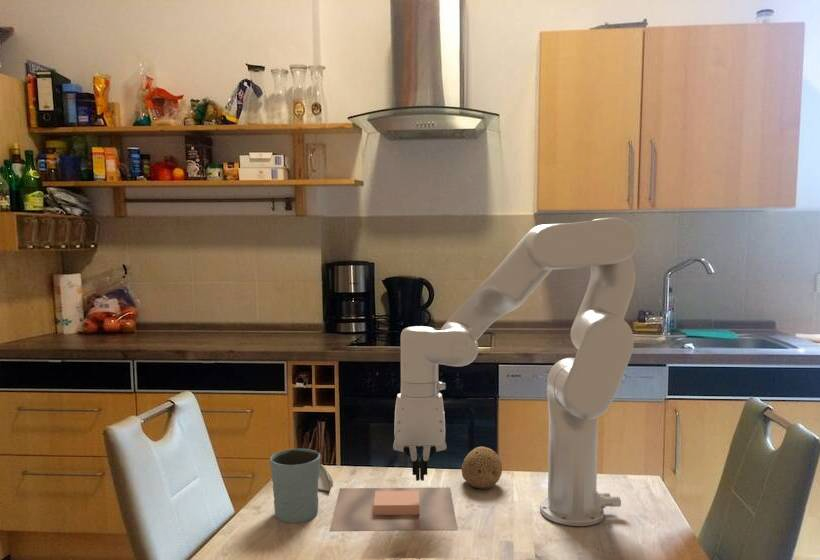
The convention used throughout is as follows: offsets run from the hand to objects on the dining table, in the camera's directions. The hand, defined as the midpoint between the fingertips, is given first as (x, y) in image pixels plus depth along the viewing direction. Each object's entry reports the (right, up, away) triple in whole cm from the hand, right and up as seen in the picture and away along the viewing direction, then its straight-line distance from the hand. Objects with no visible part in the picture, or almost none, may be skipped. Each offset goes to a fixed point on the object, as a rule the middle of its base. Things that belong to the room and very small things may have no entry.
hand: (419, 478), depth 129 cm
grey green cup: (-25, -8, +1) cm, 26 cm away
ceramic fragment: (-21, -7, +17) cm, 28 cm away
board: (-5, -8, 0) cm, 9 cm away
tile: (0, -5, 0) cm, 5 cm away
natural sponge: (+14, -7, +12) cm, 19 cm away
